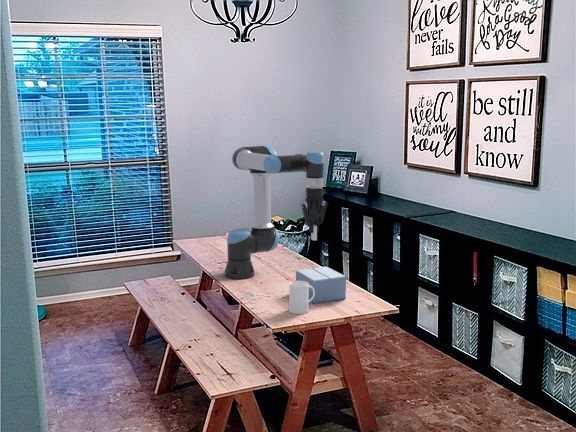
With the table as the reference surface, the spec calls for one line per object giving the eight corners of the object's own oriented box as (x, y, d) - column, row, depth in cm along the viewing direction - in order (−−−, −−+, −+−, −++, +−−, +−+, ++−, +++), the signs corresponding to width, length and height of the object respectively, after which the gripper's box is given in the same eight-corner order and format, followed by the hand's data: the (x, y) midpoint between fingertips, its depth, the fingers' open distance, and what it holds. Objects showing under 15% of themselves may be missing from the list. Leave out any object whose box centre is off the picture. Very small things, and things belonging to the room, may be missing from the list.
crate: (313, 304, 263) (313, 282, 262) (295, 292, 279) (296, 271, 278) (345, 299, 270) (346, 277, 268) (326, 288, 286) (326, 267, 284)
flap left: (314, 281, 262) (314, 280, 262) (296, 271, 277) (296, 270, 277) (329, 279, 265) (329, 278, 265) (310, 269, 281) (310, 268, 280)
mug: (311, 305, 262) (311, 278, 259) (319, 311, 254) (319, 284, 252) (285, 308, 257) (285, 281, 255) (293, 315, 250) (293, 287, 247)
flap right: (330, 279, 265) (330, 278, 265) (312, 269, 281) (312, 268, 281) (345, 277, 268) (345, 276, 268) (326, 267, 284) (326, 266, 284)
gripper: (305, 189, 258) (304, 242, 263) (331, 187, 263) (330, 240, 268) (297, 186, 265) (297, 239, 269) (323, 185, 270) (322, 236, 275)
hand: (313, 239), depth 269 cm, fingers closed
